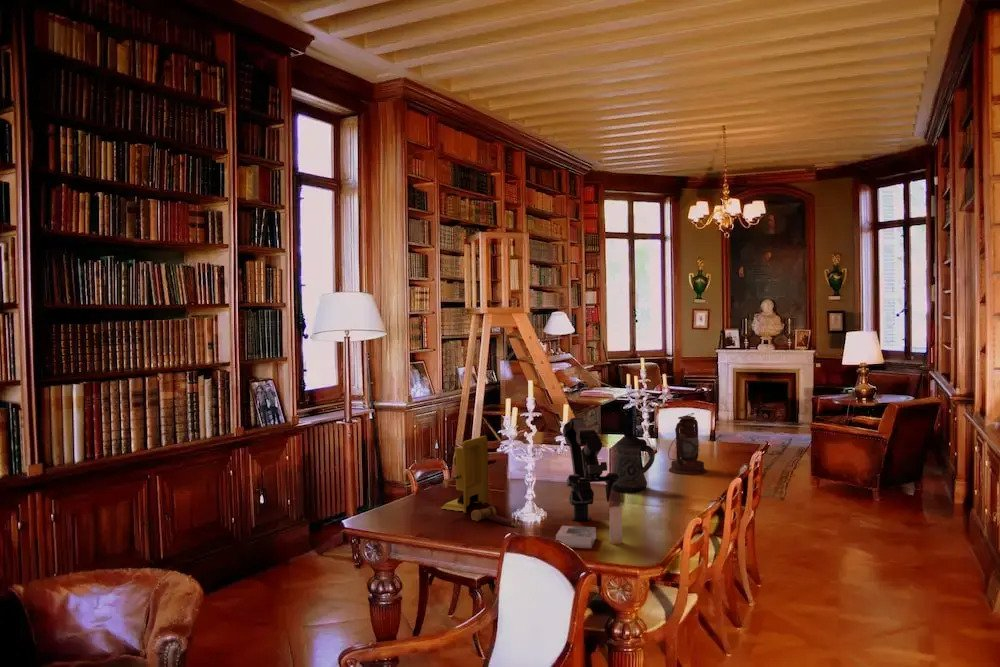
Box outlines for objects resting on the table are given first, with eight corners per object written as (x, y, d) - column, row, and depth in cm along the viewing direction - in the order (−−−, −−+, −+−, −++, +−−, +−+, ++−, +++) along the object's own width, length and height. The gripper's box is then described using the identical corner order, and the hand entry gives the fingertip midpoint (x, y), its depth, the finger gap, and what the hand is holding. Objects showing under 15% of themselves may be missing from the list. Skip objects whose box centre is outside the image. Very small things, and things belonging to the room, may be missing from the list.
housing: (562, 536, 288) (562, 525, 288) (595, 538, 285) (595, 527, 285) (556, 546, 276) (555, 535, 276) (591, 548, 273) (590, 537, 273)
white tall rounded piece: (610, 540, 281) (609, 506, 281) (623, 541, 280) (622, 506, 280) (609, 544, 277) (608, 509, 277) (621, 544, 276) (621, 509, 276)
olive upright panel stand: (471, 496, 353) (470, 430, 352) (498, 500, 346) (496, 432, 345) (431, 513, 326) (429, 441, 325) (458, 517, 319) (456, 443, 318)
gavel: (525, 517, 305) (506, 522, 298) (524, 528, 305) (505, 534, 299) (489, 504, 320) (470, 509, 314) (489, 515, 321) (470, 520, 314)
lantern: (684, 465, 411) (683, 409, 410) (714, 471, 396) (713, 412, 396) (661, 471, 399) (660, 412, 398) (691, 476, 384) (690, 416, 384)
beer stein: (608, 485, 369) (607, 432, 368) (648, 484, 370) (647, 431, 369) (614, 493, 353) (613, 438, 352) (657, 492, 353) (656, 437, 353)
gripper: (569, 455, 284) (574, 496, 277) (619, 453, 286) (625, 494, 279) (564, 465, 294) (569, 506, 287) (613, 463, 296) (619, 503, 289)
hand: (595, 502), depth 285 cm, fingers open, 9 cm apart
